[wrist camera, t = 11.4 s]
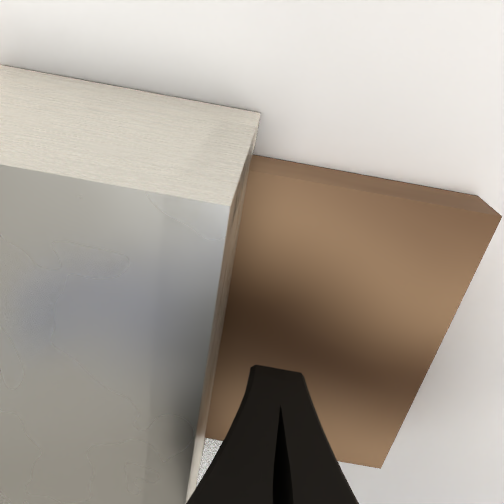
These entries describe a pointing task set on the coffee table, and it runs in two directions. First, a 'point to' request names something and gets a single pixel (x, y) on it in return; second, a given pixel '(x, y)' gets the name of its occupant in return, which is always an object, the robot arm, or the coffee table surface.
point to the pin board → (345, 294)
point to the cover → (112, 285)
